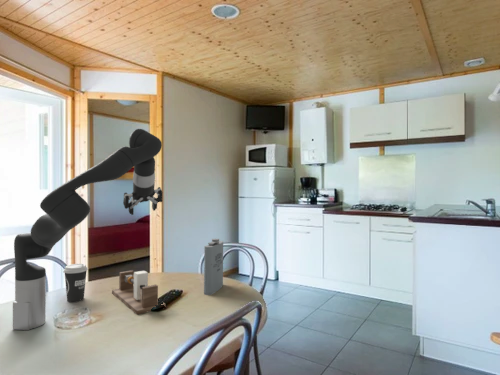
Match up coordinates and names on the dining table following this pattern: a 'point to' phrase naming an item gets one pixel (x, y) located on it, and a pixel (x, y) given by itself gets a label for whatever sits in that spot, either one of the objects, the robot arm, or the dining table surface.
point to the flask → (213, 266)
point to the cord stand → (127, 294)
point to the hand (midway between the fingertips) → (142, 211)
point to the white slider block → (139, 282)
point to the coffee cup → (75, 281)
